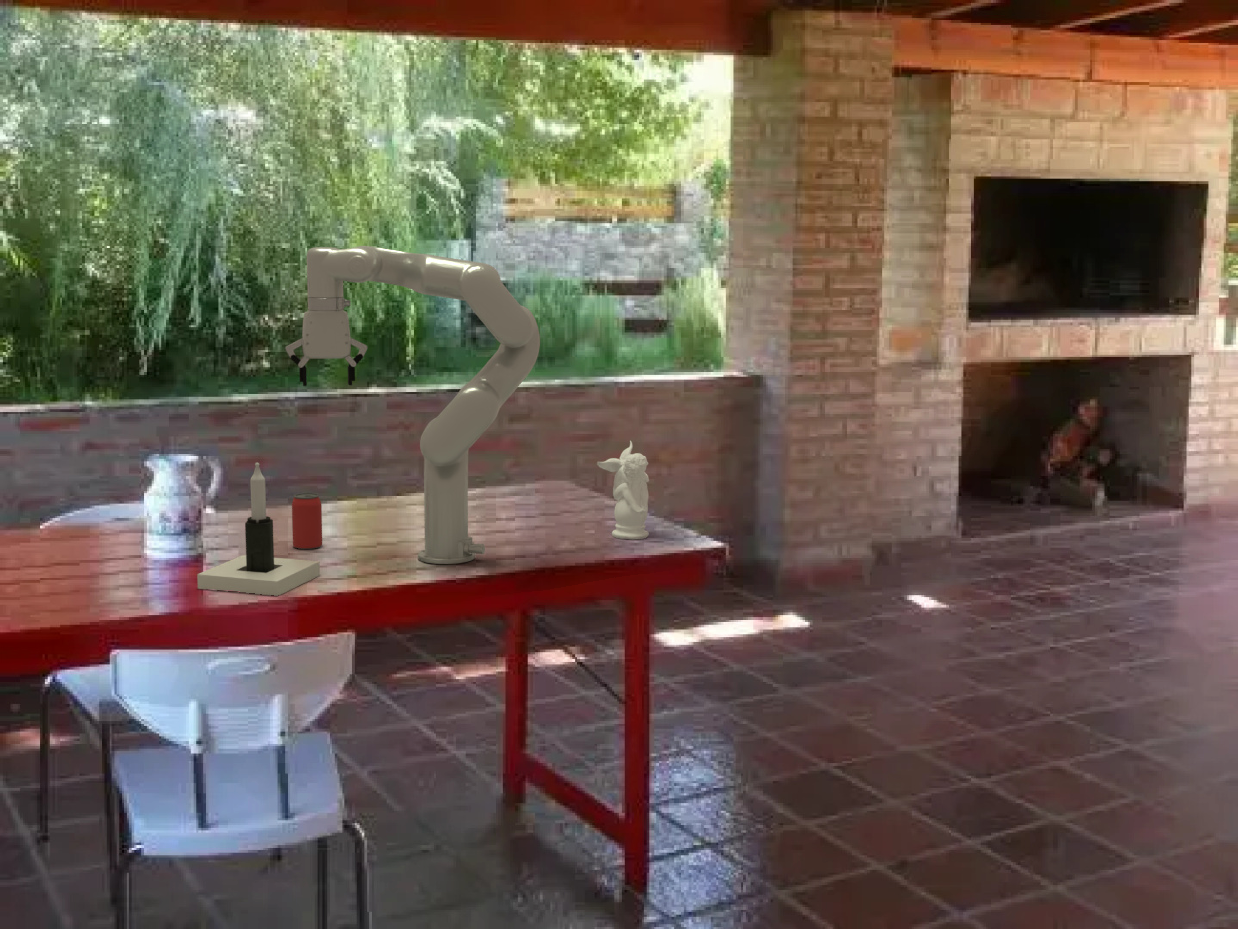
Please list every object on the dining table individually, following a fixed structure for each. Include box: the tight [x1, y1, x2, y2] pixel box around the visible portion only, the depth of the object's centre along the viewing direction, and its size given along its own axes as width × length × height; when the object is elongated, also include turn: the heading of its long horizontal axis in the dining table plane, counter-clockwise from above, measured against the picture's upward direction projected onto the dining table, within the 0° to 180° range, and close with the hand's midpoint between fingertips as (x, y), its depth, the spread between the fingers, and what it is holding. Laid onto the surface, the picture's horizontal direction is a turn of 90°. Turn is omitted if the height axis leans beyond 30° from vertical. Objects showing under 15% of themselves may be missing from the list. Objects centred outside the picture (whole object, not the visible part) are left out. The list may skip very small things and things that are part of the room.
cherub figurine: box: [596, 440, 650, 540], centre depth 368 cm, size 12×12×22 cm
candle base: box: [196, 554, 321, 597], centre depth 322 cm, size 18×18×3 cm
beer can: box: [291, 492, 323, 550], centre depth 354 cm, size 7×7×12 cm
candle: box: [244, 462, 275, 573], centre depth 321 cm, size 5×5×25 cm
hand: (327, 384), depth 338 cm, fingers open, 9 cm apart
